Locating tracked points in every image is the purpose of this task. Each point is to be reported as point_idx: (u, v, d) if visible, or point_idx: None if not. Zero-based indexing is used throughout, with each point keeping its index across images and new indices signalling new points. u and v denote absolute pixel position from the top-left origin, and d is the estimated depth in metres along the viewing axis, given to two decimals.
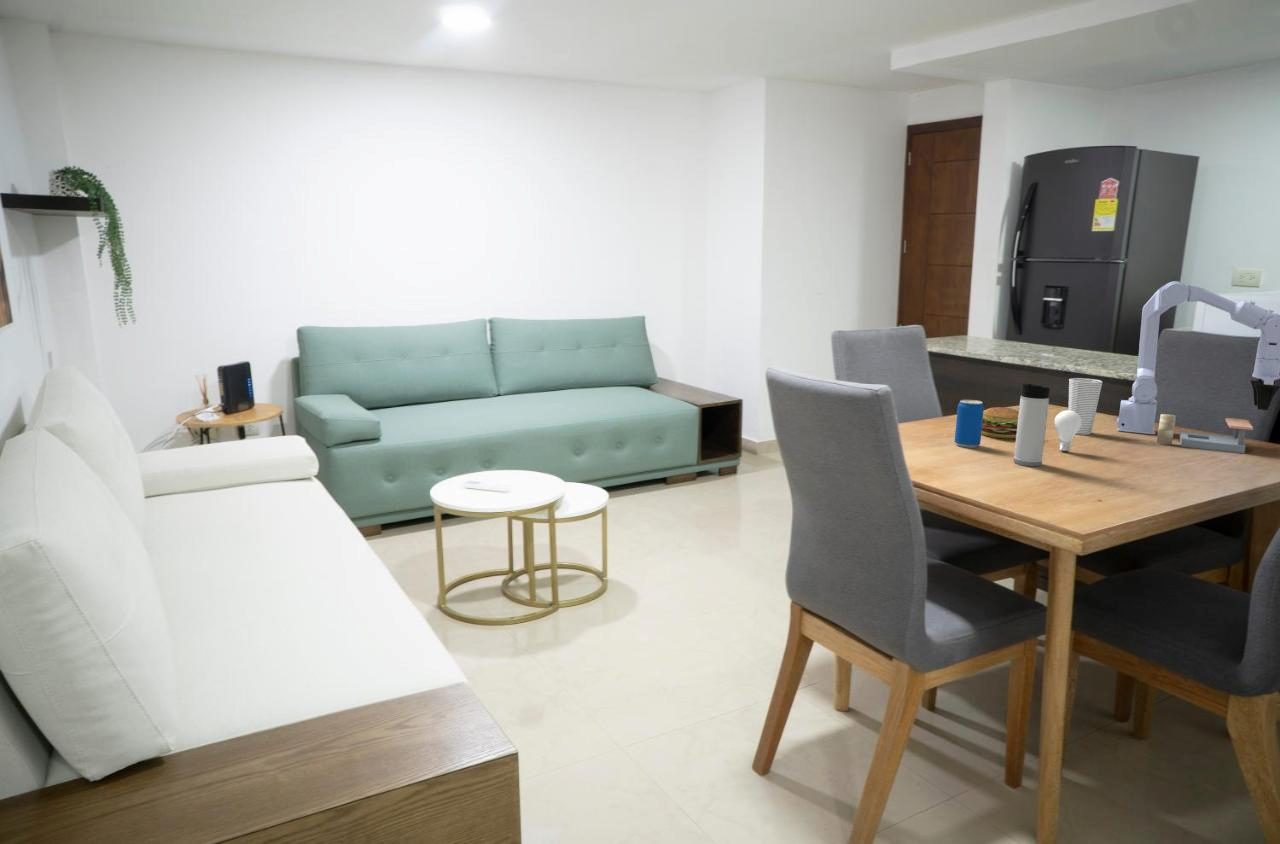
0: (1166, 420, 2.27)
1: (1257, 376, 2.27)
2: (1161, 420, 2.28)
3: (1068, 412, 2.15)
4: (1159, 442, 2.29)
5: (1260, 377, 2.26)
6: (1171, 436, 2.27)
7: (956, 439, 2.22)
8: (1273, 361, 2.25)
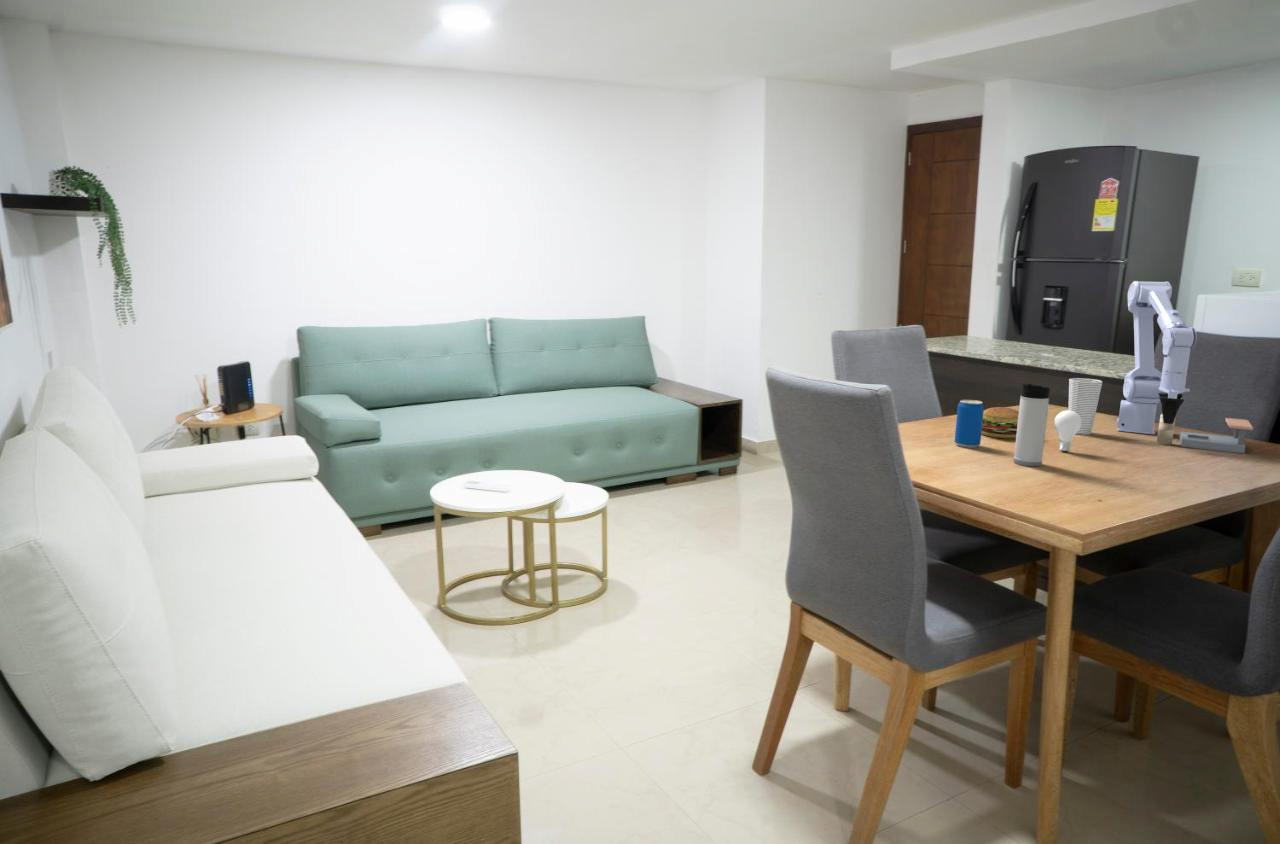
0: None
1: (1162, 389, 2.25)
2: (1161, 420, 2.28)
3: (1068, 412, 2.15)
4: (1159, 442, 2.29)
5: (1165, 391, 2.23)
6: (1171, 436, 2.27)
7: (956, 439, 2.22)
8: (1178, 374, 2.23)
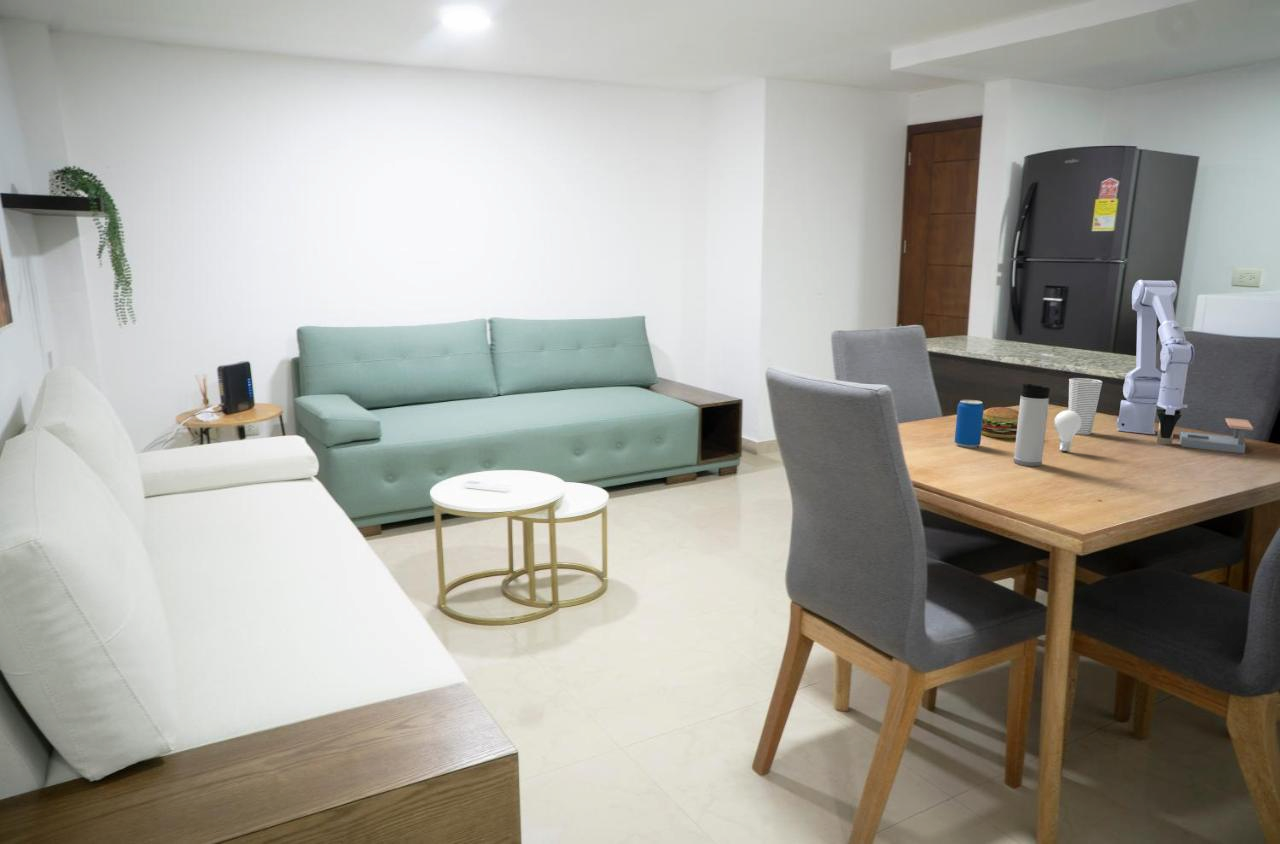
0: None
1: (1160, 405, 2.26)
2: None
3: (1068, 412, 2.15)
4: (1159, 442, 2.29)
5: (1163, 407, 2.24)
6: (1171, 436, 2.27)
7: (956, 439, 2.22)
8: (1175, 391, 2.24)
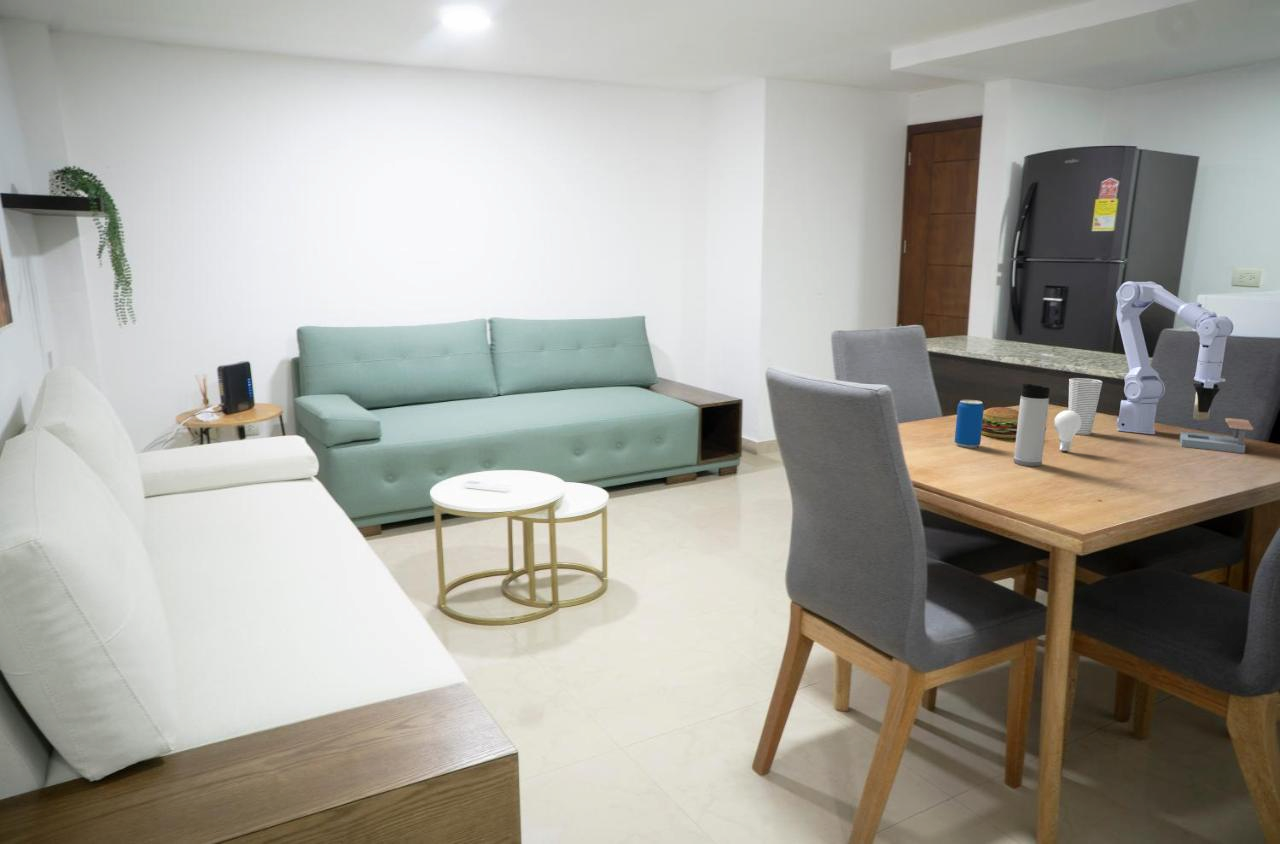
0: None
1: (1198, 379, 2.25)
2: None
3: (1068, 412, 2.15)
4: (1196, 417, 2.28)
5: (1201, 380, 2.23)
6: (1208, 411, 2.26)
7: (956, 439, 2.22)
8: (1214, 364, 2.23)
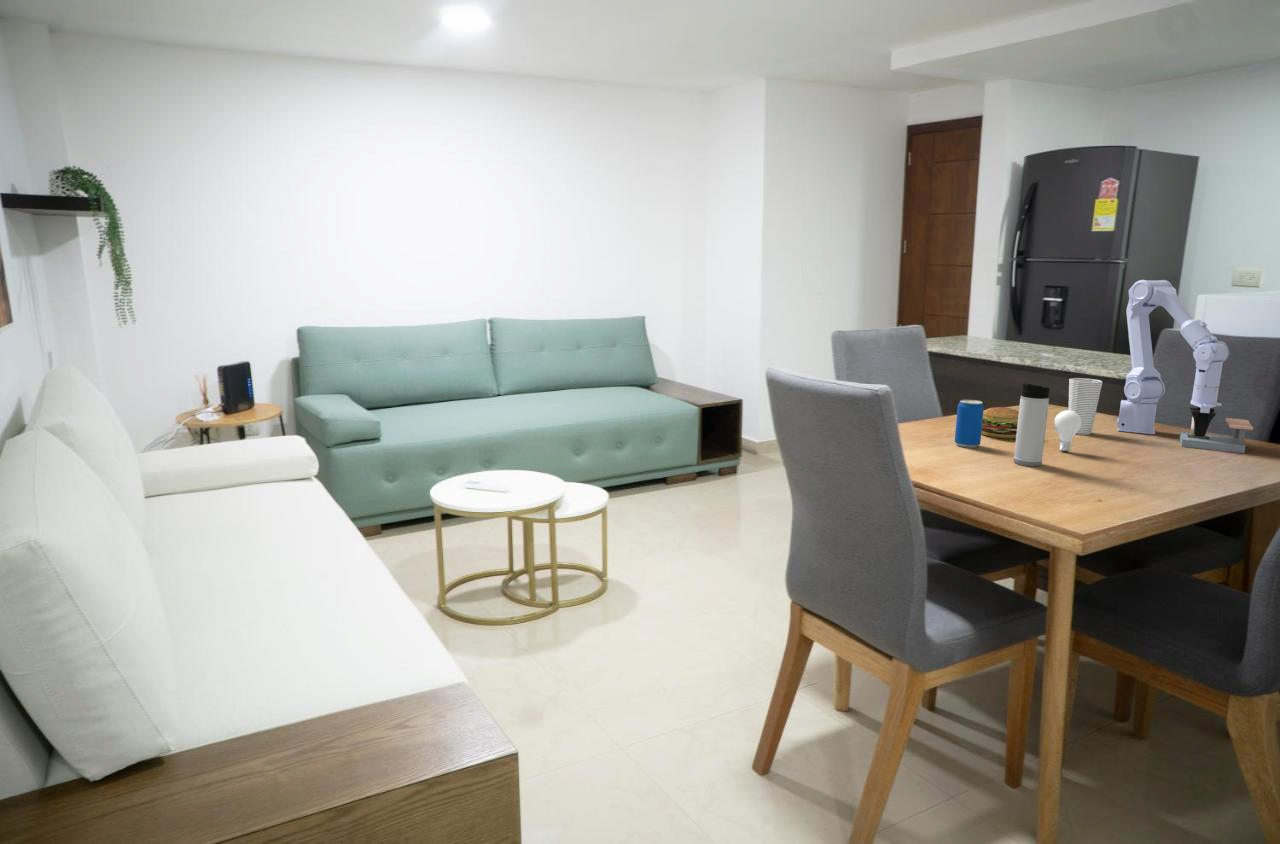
0: None
1: (1194, 404, 2.26)
2: None
3: (1068, 412, 2.15)
4: None
5: (1197, 405, 2.25)
6: None
7: (956, 439, 2.22)
8: (1210, 389, 2.24)
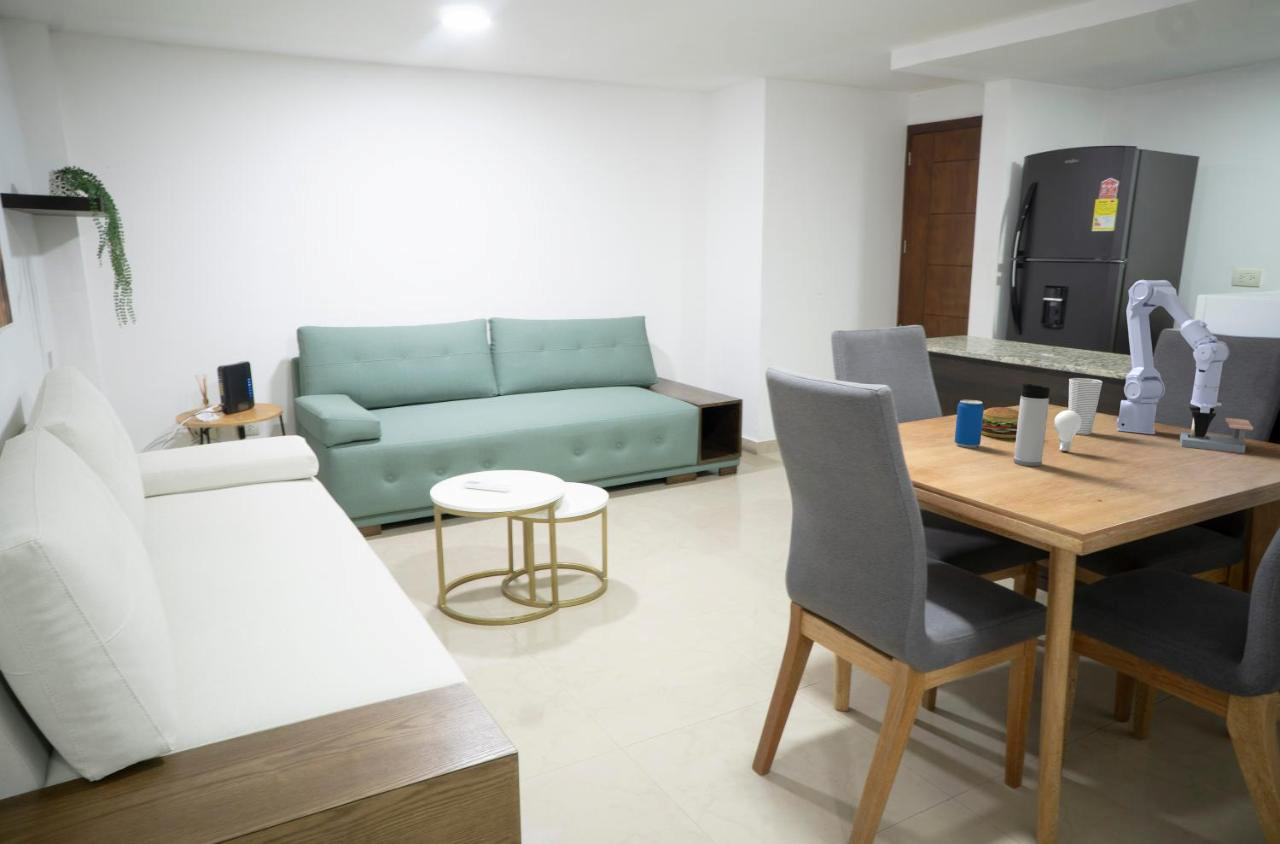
0: None
1: (1194, 404, 2.26)
2: None
3: (1068, 412, 2.15)
4: None
5: (1197, 405, 2.25)
6: (1205, 436, 2.28)
7: (956, 439, 2.22)
8: (1210, 389, 2.24)
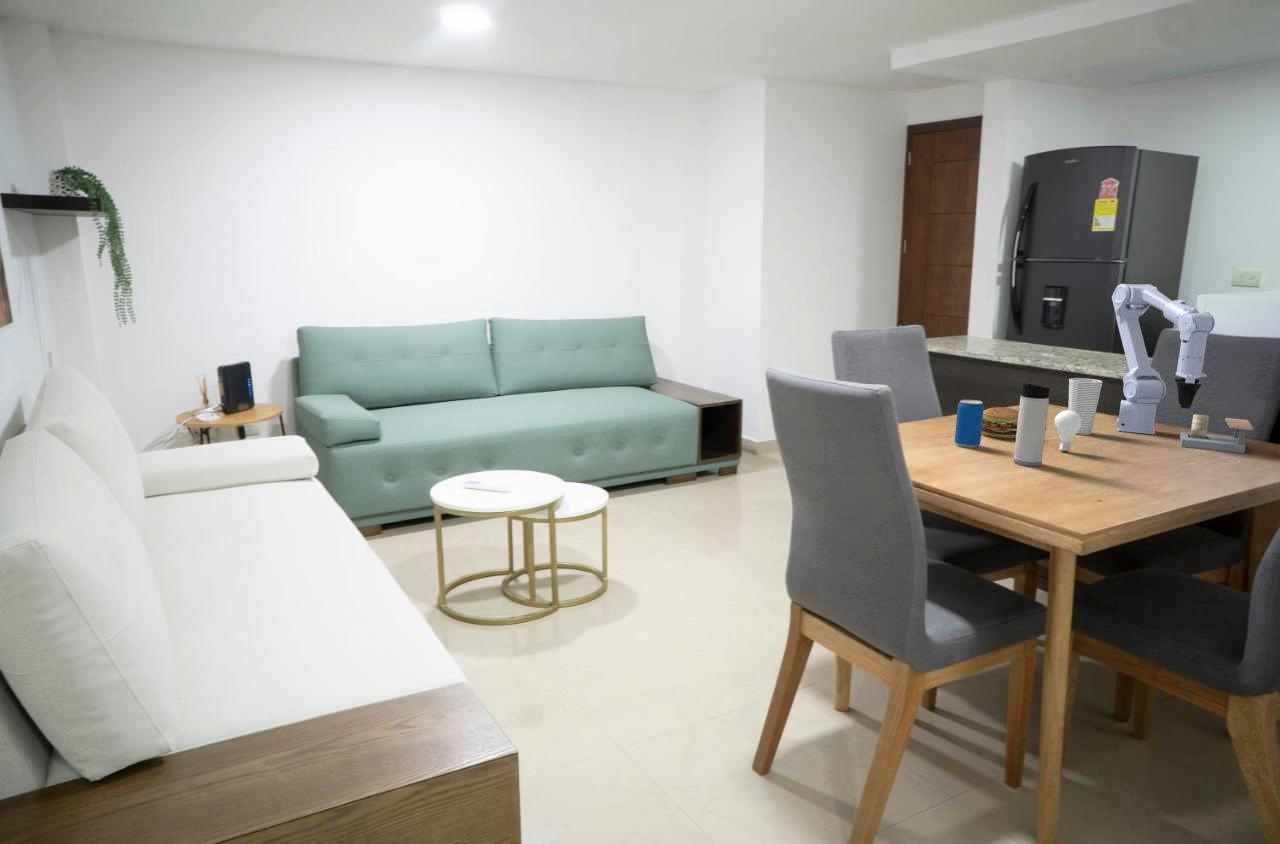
0: (1200, 421, 2.27)
1: (1180, 374, 2.26)
2: (1195, 420, 2.28)
3: (1068, 412, 2.15)
4: None
5: (1182, 375, 2.24)
6: (1204, 436, 2.28)
7: (956, 439, 2.22)
8: (1195, 359, 2.24)
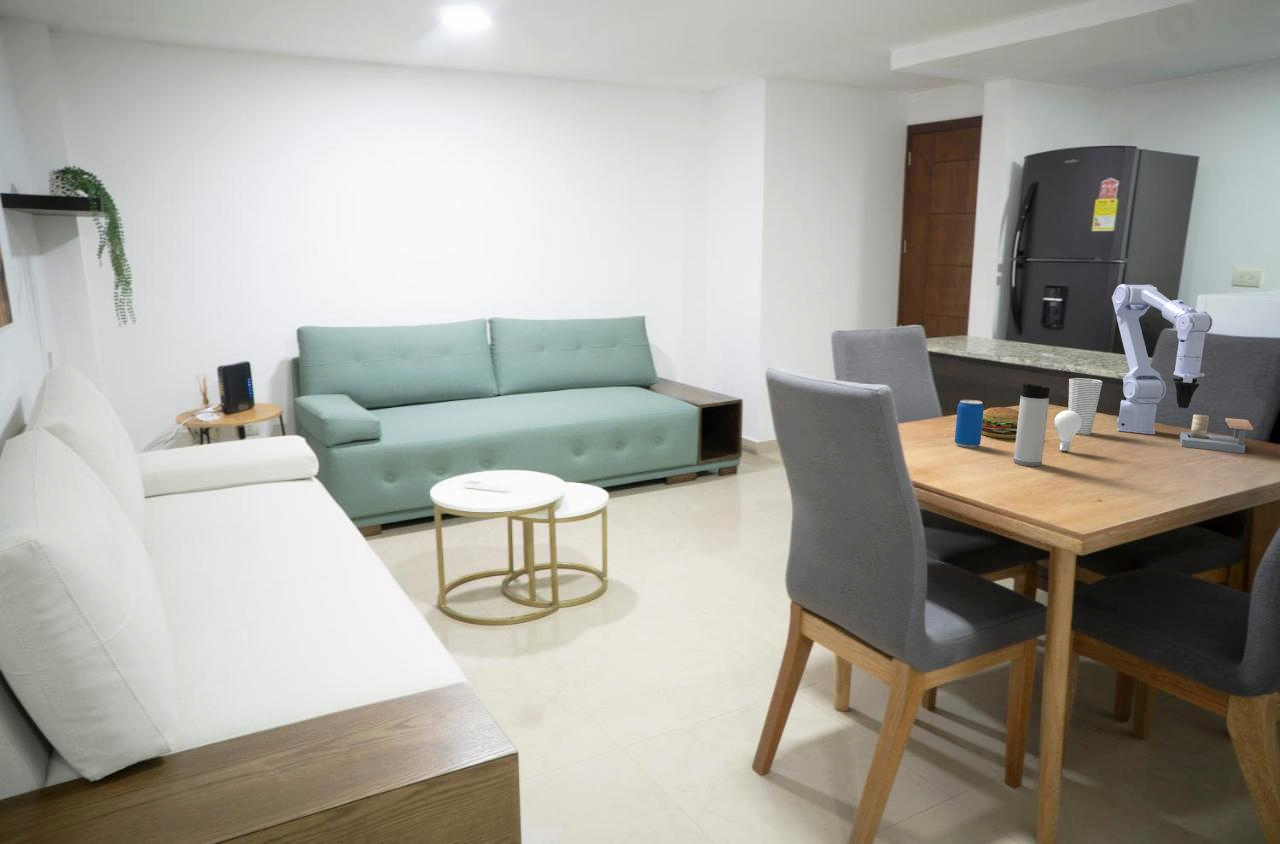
0: (1200, 421, 2.27)
1: (1177, 374, 2.26)
2: (1195, 420, 2.28)
3: (1068, 412, 2.15)
4: None
5: (1180, 375, 2.25)
6: (1204, 436, 2.28)
7: (956, 439, 2.22)
8: (1193, 359, 2.24)
